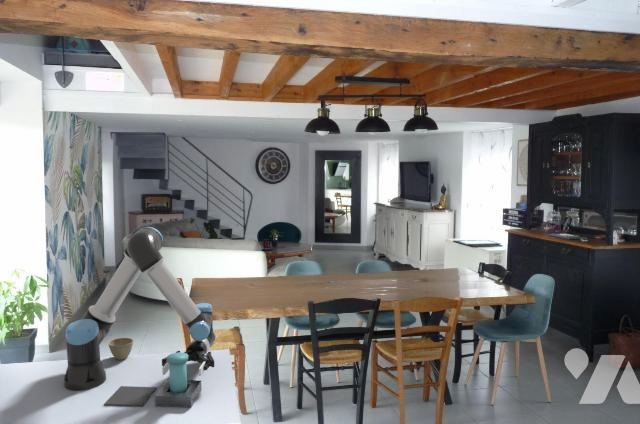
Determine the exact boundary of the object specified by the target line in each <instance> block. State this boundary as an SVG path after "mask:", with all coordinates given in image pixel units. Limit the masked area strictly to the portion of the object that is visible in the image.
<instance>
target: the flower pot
mask: <svg viewBox="0 0 640 424" xmlns="http://www.w3.org/2000/svg"><path fill="white" fill-rule="evenodd" d="M133 344H134V339H132V338H129V337H118V338H115V339H114V338H113V339H112V340H110V341H108V348H109V351H110V353H111V355H112V356H113V357H114V359H115V360H121V361H122V360H125V359H127V358H128V357H129V356H130V354H131V351H132V349H133V346H134V345H133Z"/></svg>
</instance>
